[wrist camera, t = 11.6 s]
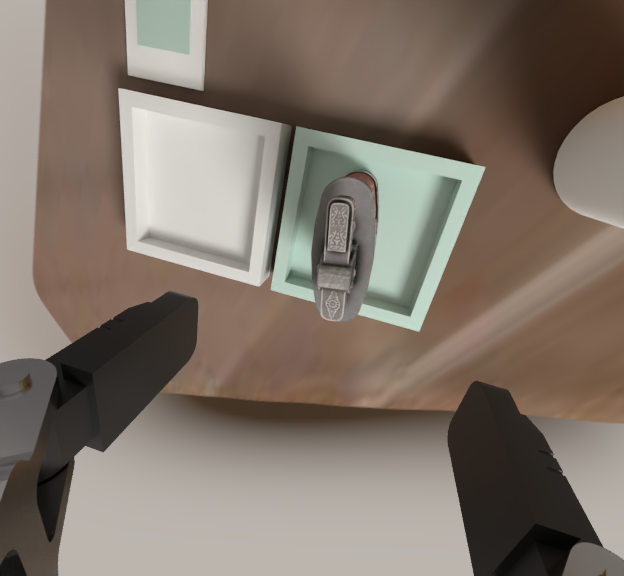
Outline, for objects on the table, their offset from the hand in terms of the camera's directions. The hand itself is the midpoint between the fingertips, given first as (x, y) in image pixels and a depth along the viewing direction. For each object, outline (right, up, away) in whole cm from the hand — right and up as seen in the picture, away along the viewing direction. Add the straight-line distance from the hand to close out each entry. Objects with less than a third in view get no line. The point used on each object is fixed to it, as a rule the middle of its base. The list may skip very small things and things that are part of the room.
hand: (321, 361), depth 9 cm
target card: (-10, +21, +13) cm, 27 cm away
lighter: (+3, +7, +15) cm, 17 cm away
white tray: (-9, +10, +17) cm, 22 cm away
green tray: (+4, +7, +16) cm, 17 cm away
